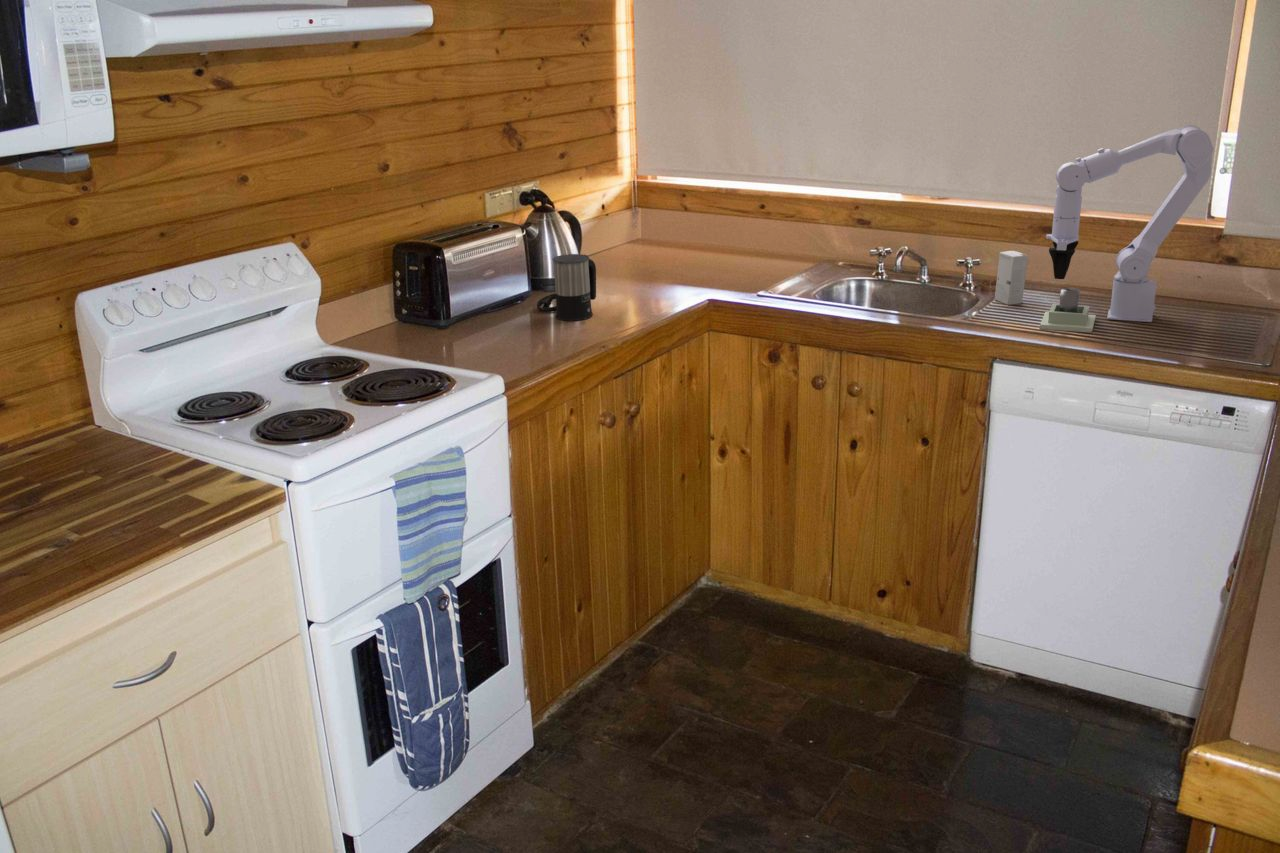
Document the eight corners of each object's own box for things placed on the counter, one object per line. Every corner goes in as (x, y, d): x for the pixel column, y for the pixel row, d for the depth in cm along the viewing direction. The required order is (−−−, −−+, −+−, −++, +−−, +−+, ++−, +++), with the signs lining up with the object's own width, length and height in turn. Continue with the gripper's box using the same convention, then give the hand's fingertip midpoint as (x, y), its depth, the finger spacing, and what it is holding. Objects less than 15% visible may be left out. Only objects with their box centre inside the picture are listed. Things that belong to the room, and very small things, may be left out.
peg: (1077, 317, 259) (1080, 288, 256) (1076, 322, 255) (1078, 292, 253) (1059, 316, 260) (1061, 287, 258) (1057, 321, 257) (1059, 291, 254)
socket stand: (1095, 319, 261) (1096, 304, 260) (1091, 332, 251) (1093, 317, 250) (1045, 315, 265) (1046, 301, 264) (1039, 328, 255) (1041, 313, 254)
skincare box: (993, 299, 281) (997, 251, 276) (1009, 298, 282) (1013, 249, 278) (1008, 305, 275) (1012, 256, 271) (1024, 303, 276) (1028, 254, 272)
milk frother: (587, 322, 274) (584, 262, 269) (525, 320, 278) (521, 261, 273) (601, 307, 287) (598, 249, 282) (542, 306, 291) (538, 249, 286)
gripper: (1051, 210, 266) (1046, 267, 270) (1045, 221, 253) (1039, 280, 258) (1083, 211, 263) (1077, 269, 268) (1078, 222, 251) (1072, 282, 255)
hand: (1061, 275), depth 263 cm, fingers open, 7 cm apart
